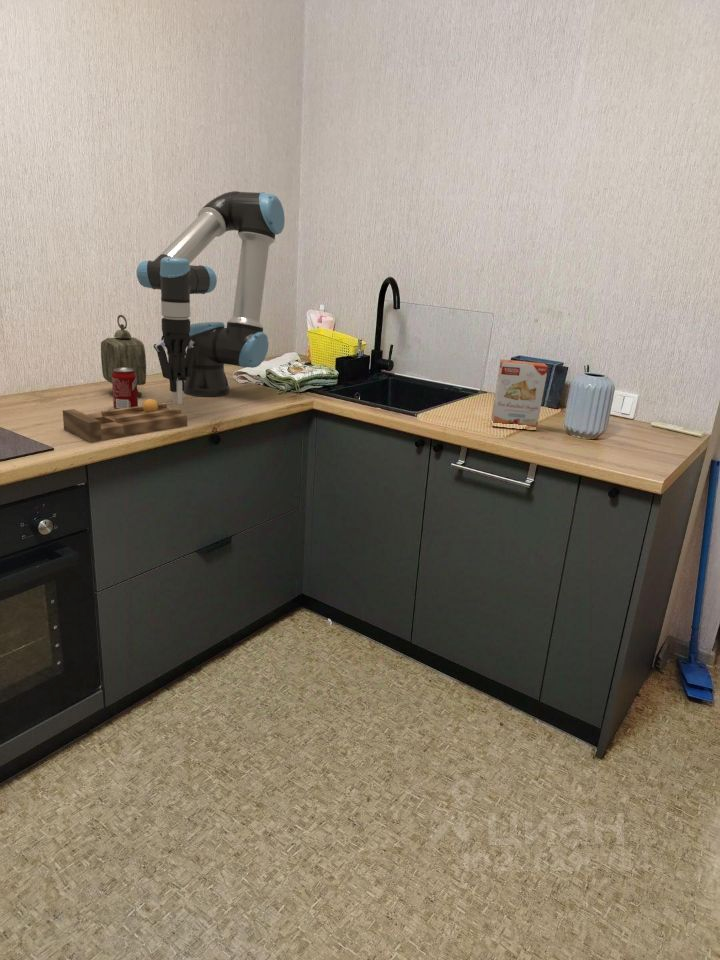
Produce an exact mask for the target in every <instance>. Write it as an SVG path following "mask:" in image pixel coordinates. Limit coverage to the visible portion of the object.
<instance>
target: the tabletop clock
mask: <svg viewBox="0 0 720 960" xmlns="http://www.w3.org/2000/svg"><path fill="white" fill-rule="evenodd" d="M120 318H122V319H123V320H124V323H125V325H124V324H122V323H121V324H120ZM117 326H118V328H120V329H118V330H116V331H115V333H114V335H113V337H107V338H105V339H103V340H102V341H101V342H100V360H101V372H102V377H103V378H104V380H106V381H107V382H108V383H111V384H112V374H113V373H114V369H115V368H132V369H134V372H135V374H136V375H137V386H143V385H146V383H147V359H146V358H147V356H146V348H145V344H144V342H143V341H142V340H140V339H139V338H136V337H134V336H132V335H131V333H130V332H129V331H128V330H126V329H127V327H128V321H127V319H126V317H125V316H124V315H123V314H118V316H117ZM142 394H143V393H142V392H139V390H138V389H137V398H142V396H143V395H142Z"/></svg>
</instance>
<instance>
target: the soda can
mask: <svg viewBox="0 0 720 960" xmlns="http://www.w3.org/2000/svg"><path fill="white" fill-rule="evenodd" d="M111 385H112V402H113V403H112V405H113V410H115V409H123V408H130V407H137V406H139V404H138V403H139V401H138V398H139V397H137V390H138V385H137V375H136V374H135V372H134V369H132V368H115V369H114V373H113V374H112V383H111Z"/></svg>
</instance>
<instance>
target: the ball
mask: <svg viewBox="0 0 720 960" xmlns="http://www.w3.org/2000/svg"><path fill="white" fill-rule="evenodd" d="M158 404H159V403H158V402H157V400H155V399H153V398H147V399H145V400H144V401H143V403H142V406H143V409H144V411H145V412H147V413H149V412H156V411H157V409H158Z"/></svg>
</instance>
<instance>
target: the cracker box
mask: <svg viewBox="0 0 720 960" xmlns="http://www.w3.org/2000/svg"><path fill="white" fill-rule="evenodd" d="M548 371H549V366H548V365H547V364H546V363H544V362H532V361H524V360H512V359H500V361H499V367H498V373H497V380H496V386H495V393H494V399H493V406H492V412H491V416H490V417H491V419H492V421H493V423H502V424H518V425H527V426H531V427H537V428H538V423H539V419H540V413H541V407H542V402H543V398H544V391H545V387H546V386H545V385H546V381H547V375H548ZM491 419H490V420H491Z"/></svg>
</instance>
